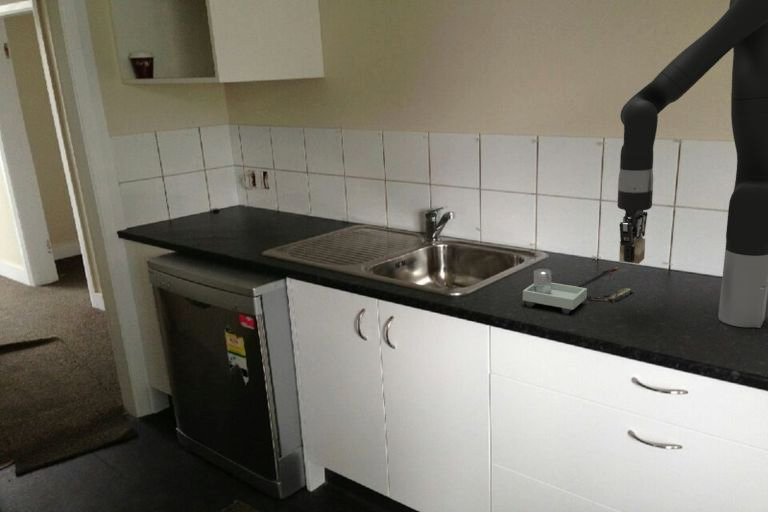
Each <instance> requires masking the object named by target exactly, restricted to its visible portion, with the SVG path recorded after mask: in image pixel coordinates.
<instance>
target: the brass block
mask: <svg viewBox="0 0 768 512" xmlns="http://www.w3.org/2000/svg"><path fill="white" fill-rule="evenodd" d="M627 241H629V238H627ZM645 250H646V238H645V237H643V238H636V242H635V252H634V261H633V262H625V261H624V246H623V245H621V240H619V254H618V255H619V257H618V261H619V262H621V263H627V264H628V263H630V264H636V265H637V264H638V265H639V264H640V263H642V262H643V260H645V253H646V251H645Z"/></svg>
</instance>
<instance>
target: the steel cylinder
mask: <svg viewBox="0 0 768 512" xmlns="http://www.w3.org/2000/svg"><path fill="white" fill-rule="evenodd" d="M533 283H534V292H538V293H543V294H549V295H551V294H552V286H551V283H552V270H551V269H549V268H537V269H535V270H533Z"/></svg>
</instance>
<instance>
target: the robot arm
mask: <svg viewBox="0 0 768 512" xmlns="http://www.w3.org/2000/svg"><path fill="white" fill-rule="evenodd" d="M728 6H729V7H728V9H727V10H726V12H725V13H724V14H723V15H722V16H721V17H720V18H719V19H718V20H717V21H716V22H715V23H714V24H713V25H712V26H711V27H710V28H709V29H708V30H707V31H706V32H704V33H703V34H702V35H701V36H700V37H699V38H697V39H696V40H694V41H693V42H692V43H691V44H690V45H689V46H688V47H686V48H685V49H684V50H682V52H680V53H679V54H678V55H677V56H676V57H675V58H674V59H672V60H671V61H669V62H670V63H668V64H667V65H666V66H665V67H664V68H663V69H662V70H661V71H660V72H659V73H658V74H657V75H656V76H655V77H654V78H653V79H652V81H650V82H649V83H648V84H646V86H644V87H643V88H642V89H640V90H639V91H638V92H637V93H636V94H634V95H633V96H632V97H631V98H630V99H629V100H628V101H626V103H625V104H624V105H623V107H622V109H621V110H620V121H621V123H622V125H623V144H622V146H621V150H620V159H619V160H620V161H619V162H620V163H619V173H618V182H617V204H616V205H617V208H618V209H620V210H623V211H624V212H625V213H624V216H623V217H622V221H621V222H619V224H618V225H619V235H620V236H619V237H620V238H619V239H620V240H619V241H621V245H623V246H624V261H625V262H624V263H627V262H633V261H634V252H635V242H636V238H645V235H646V228H647V219H648V210H650V209H651V208H652V207H653V194H654V192H653V191H654V146H655V141H656V137H657V130H658V121H659V120H658V119H659V116H658V115H659V114H660V113H661V112H662V111H664V109H665V108H666V107H668V106H669V105H670V104H672V103H675V102H676V101H678V100H679V99H680V98H682V97H683V96H684V95H685V94H686V93H687V92H688V91H689V90H690V89H692V87H693V86H694V85H695V84H696V83H697V82H698V81H700V80H701V79H702V78H703V77H704V76H705V75H706V74H707V73H708V72H709V71H710V70H711V69H712V68H713V67H714V66H715V65H716V64H717V63H718V62H719V61H720V60H721V59H722V58H723V57H724V56H726V55H727V54H728V53H729V52H730V51H731V50H732V49H733V51H732V53H733V56H732V70H731V92H730V93H731V94H730V96H731V97H730V99H731V100H730V104H731V105H730V111H731V112H730V119H731V128H732V135H733V141H734V146H735V151H736V170H735V171H736V172H735V181H734V186H733V187H734V188H733V192H732V193H731V196H730V198H729V203H728V211H727V220H726V221H727V222H726V231H725V249H724V250H725V251H724V259H723V269H722V276H721V277H722V278H721V285H720V286H721V288H720V294H719V295H720V296H719V306H718V317H717V318H718V320H719V321H721V322H722V323H724V324H727V325H730V326H734V327H740V328H758V329H761V327H762V326H763V323H764V321H765V318H766V317H765V316H766V309H767V301H768V0H729V4H728ZM627 238H629V241H627Z"/></svg>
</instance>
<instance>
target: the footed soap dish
mask: <svg viewBox="0 0 768 512" xmlns="http://www.w3.org/2000/svg"><path fill="white" fill-rule="evenodd" d="M551 286H552V294H551V295H549V294H543V293H538V292H534V282H533V283H532V284H531V285H529V286H528V287H526V288H525V289H523V290H522V301H525V304H526V306H527V307H528V308H532V307H534V306H535V305H536V304H539V305H545V306H549V307H550V306H552V307H557V308H561V312H562V314H564V315H568V314H569V313H571V312H572V310H574V309H576V308H577V307H578V306H579V305H580V304H582V303H583V302H584V301H585V300H586V299H588V298H587V296H588V295H587V294H588V288H586V287H582V286H581V287H577V286H575V285H569V284H562V283H556V282H551Z"/></svg>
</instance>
